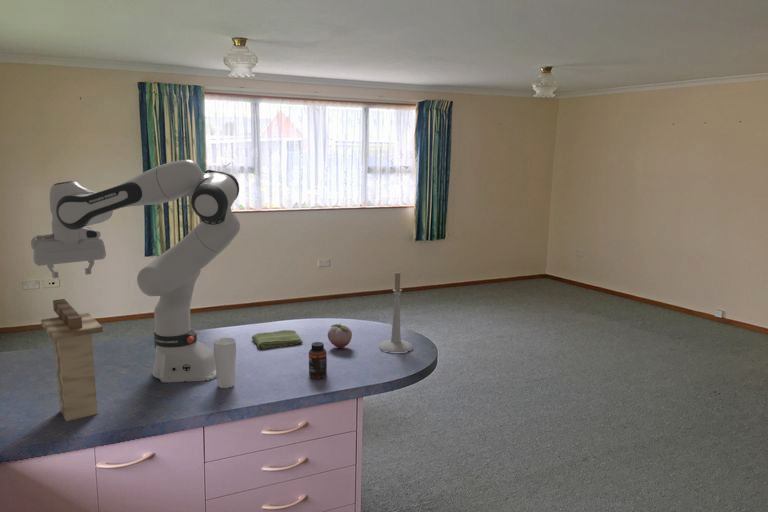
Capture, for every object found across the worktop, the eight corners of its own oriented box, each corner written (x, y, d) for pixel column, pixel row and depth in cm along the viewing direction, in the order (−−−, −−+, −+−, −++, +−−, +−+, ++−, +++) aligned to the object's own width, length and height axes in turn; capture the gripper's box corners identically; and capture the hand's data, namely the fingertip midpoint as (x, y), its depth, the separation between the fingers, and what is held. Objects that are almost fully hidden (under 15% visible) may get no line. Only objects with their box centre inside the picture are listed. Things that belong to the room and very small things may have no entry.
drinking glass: (217, 381, 190) (215, 337, 187) (238, 381, 190) (237, 337, 187) (212, 390, 183) (211, 344, 180) (235, 390, 184) (233, 344, 181)
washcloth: (304, 345, 226) (304, 337, 225) (258, 351, 218) (258, 343, 217) (294, 334, 237) (294, 327, 237) (250, 340, 230) (250, 332, 229)
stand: (49, 407, 169) (41, 319, 164) (94, 397, 176) (88, 312, 171) (61, 429, 157) (52, 335, 152) (109, 417, 164) (102, 326, 159)
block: (53, 310, 173) (52, 300, 172) (65, 308, 175) (64, 298, 174) (69, 329, 156) (69, 319, 155) (82, 327, 158) (81, 317, 157)
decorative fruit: (356, 347, 223) (357, 322, 221) (343, 353, 216) (344, 327, 215) (336, 342, 228) (337, 317, 226) (323, 348, 221) (323, 323, 219)
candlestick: (389, 355, 215) (391, 276, 210) (373, 345, 226) (374, 269, 220) (418, 350, 222) (421, 273, 216) (401, 340, 233) (403, 266, 227)
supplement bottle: (329, 373, 198) (329, 342, 196) (322, 380, 192) (322, 347, 190) (313, 371, 200) (313, 339, 197) (305, 377, 194) (305, 345, 192)
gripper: (32, 237, 175) (36, 282, 178) (105, 231, 188) (108, 273, 191) (28, 234, 180) (33, 278, 183) (100, 229, 193) (103, 270, 195)
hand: (72, 275), depth 187 cm, fingers open, 8 cm apart
